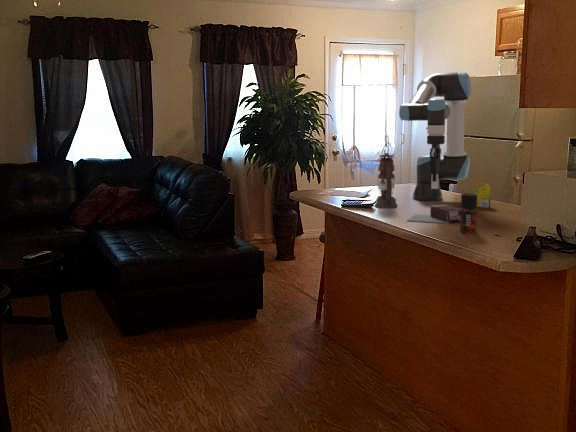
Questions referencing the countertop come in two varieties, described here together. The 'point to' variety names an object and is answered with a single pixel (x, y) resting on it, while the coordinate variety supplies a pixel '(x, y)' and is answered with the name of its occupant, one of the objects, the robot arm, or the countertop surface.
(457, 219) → the supplement box
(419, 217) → the mat
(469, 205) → the deodorant
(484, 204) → the crayon box
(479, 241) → the countertop surface
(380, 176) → the lantern
